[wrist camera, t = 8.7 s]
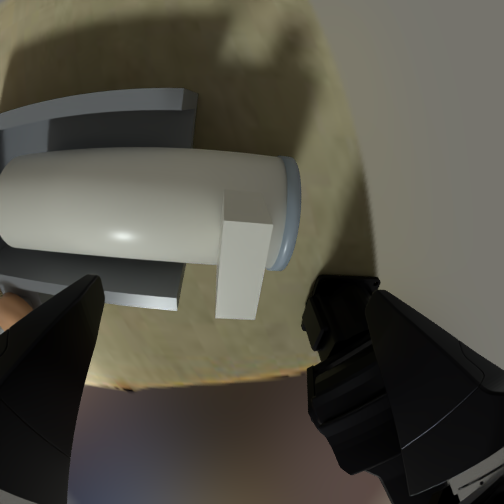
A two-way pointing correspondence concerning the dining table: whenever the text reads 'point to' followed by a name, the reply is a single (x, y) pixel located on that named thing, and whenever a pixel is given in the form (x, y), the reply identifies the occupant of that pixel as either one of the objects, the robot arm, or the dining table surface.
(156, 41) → the dining table surface
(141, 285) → the housing
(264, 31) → the dining table surface
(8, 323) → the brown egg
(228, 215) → the cartridge
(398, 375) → the robot arm
